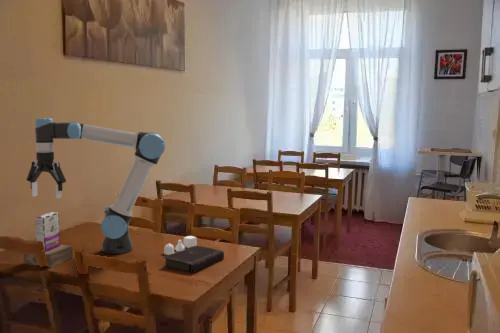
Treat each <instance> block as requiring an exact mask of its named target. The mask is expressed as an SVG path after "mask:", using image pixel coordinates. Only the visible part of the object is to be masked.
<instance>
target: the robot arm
mask: <svg viewBox="0 0 500 333" xmlns="http://www.w3.org/2000/svg"><path fill="white" fill-rule="evenodd" d="M34 125H35V126H34V131H35V133H34V134H35V151H36V153H35V154H36V157H35V158H36V161H32V162H31V164H30V166H31V167H30V169H29V172H28V175H27V178H26V181H28V182H29V183H30V189H31V197H33V198H34V197H38V196H39V194H38V191H39V190H38V181H37V180H38V178H39V177H40V175H41V174H42V173H44V172H45V173H48V174H50V175H51V177H52V178H53V179H54V181H55V183H56V184H55V198H56V199H61V198H62V191H63V184H65V183H66V182H67V179H66V177H65V175H64V173H63V171H62V168H61V165H60V162H54V160H55V152H54V148H55V144H54V140H57V139H61V140H77V139H78V140H79V139H80V140H85V141H91V142H96V143H103V144H109V145H114V146H121V147H126V148H132V149H134V151H135V152H134V158H135V160H134V162H133V164H132V166H131V167H130V168H131V169H130V170H129V172H128V175H127V176H126V179H125V180H124V183H123V185H122V187H121V189H120V192H119V194H118V195H117V198H116V200H115V203H113V204H111V205H109V206H105V207H104V218H103V219H102V221H101V223H100V227H101V233H102V234H103V235H104V239H103V242H102V246H101V251H102V252H103V253H105V254H110V255H116V254H117V255H119V254H125V253H126V254H127V253H129V252H131V251H132V250H133V242H132V239H131V237H130V229H129V226H130V225H129V223H130V222H131V220H132V218H133V212H132V211H133V208H134V206H135V204H136V202H137V199H138V197H139V195H140V193H141V191H142V189H143V188H144V187H143V186H144V184H145V182H146V181H147V178H148V176H149V175H150V172H151V170H152V168H153V167H155V166H157V165H158V163H159V161H160V159H161V156H162V155H163V153H165V150H166V149H165V148H166V142H165V140H164V138H163V137H162V135H160V134H159V133H158V132H146V131H145V132H143V131H137V132H132V131H126V130H122V129H121V130H119V129H114V128H110V127H109V128H108V127H103V126H98V125H97V126H96V125H90V124H85V123H80V122H76V121H69V122H54V119H53V118H49V117H47V118H46V117H38V118H36V119H35V124H34Z"/></svg>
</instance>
